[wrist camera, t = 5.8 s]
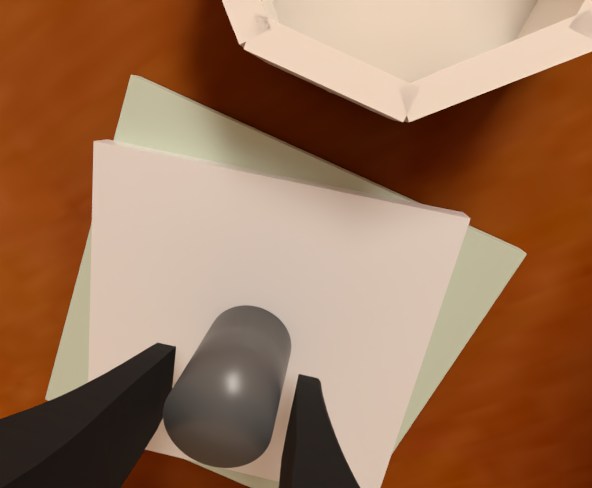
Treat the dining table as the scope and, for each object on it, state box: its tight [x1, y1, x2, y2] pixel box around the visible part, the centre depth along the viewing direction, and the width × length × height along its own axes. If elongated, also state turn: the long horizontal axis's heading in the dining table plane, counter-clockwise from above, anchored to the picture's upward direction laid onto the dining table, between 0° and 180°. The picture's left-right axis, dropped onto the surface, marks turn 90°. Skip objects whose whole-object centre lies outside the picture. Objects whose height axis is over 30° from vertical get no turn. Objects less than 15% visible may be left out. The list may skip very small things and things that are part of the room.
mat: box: [45, 75, 527, 488], centre depth 16 cm, size 14×14×1 cm
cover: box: [88, 139, 470, 488], centre depth 13 cm, size 12×12×5 cm
